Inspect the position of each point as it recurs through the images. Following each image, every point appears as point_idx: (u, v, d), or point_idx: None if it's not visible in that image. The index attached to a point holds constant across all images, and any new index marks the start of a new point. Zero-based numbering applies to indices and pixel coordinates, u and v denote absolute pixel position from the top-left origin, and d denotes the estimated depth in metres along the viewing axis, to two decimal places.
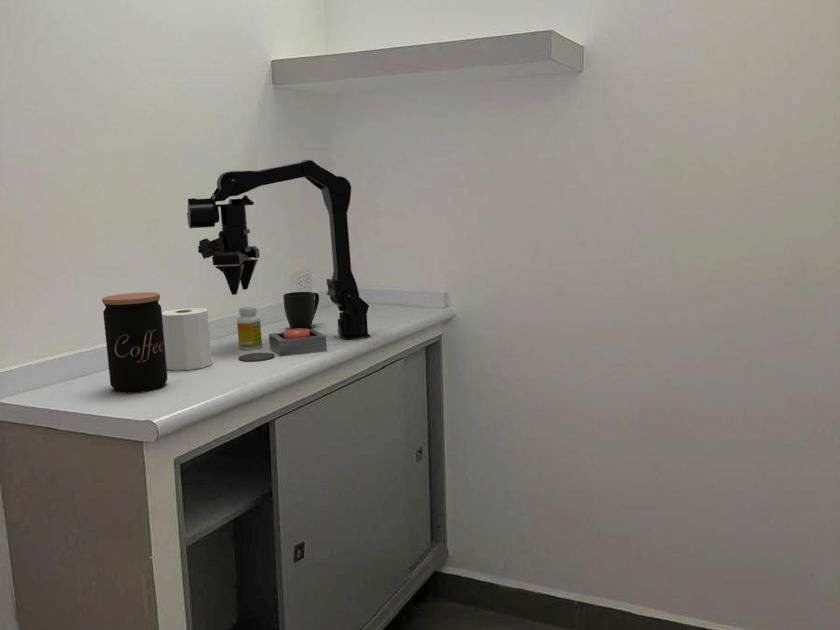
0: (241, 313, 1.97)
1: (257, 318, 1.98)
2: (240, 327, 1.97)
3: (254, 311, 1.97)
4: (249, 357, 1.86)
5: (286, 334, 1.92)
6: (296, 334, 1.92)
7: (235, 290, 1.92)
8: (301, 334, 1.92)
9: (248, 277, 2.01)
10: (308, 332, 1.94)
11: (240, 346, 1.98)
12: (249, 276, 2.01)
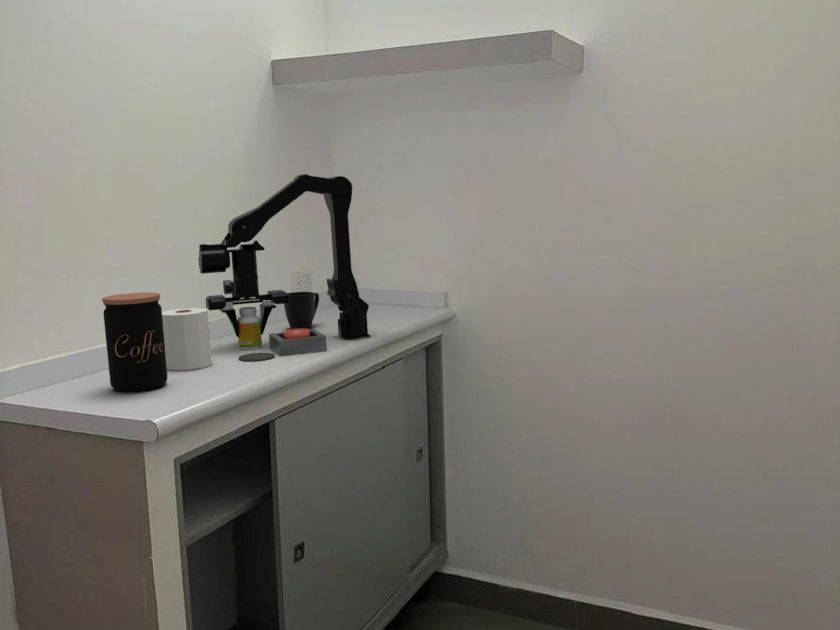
0: (241, 313, 1.97)
1: (257, 318, 1.98)
2: (240, 327, 1.97)
3: (254, 311, 1.97)
4: (249, 357, 1.86)
5: (286, 334, 1.92)
6: (296, 334, 1.92)
7: (235, 333, 1.97)
8: (301, 334, 1.92)
9: (261, 323, 1.99)
10: (308, 332, 1.94)
11: (240, 346, 1.98)
12: (261, 322, 1.98)
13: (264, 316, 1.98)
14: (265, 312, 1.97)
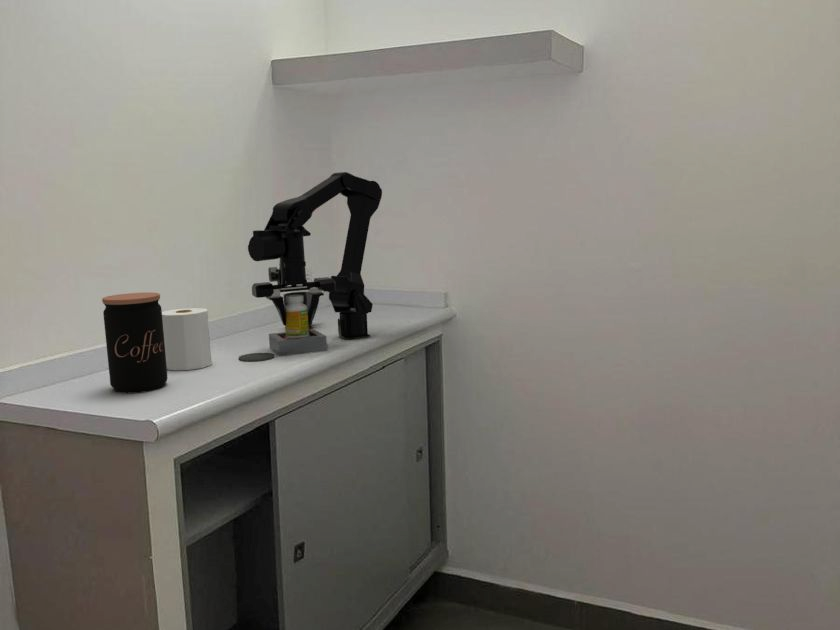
0: (288, 301, 1.92)
1: (304, 306, 1.93)
2: (288, 315, 1.92)
3: (301, 299, 1.93)
4: (249, 357, 1.86)
5: None
6: None
7: (282, 321, 1.93)
8: None
9: (308, 311, 1.94)
10: None
11: (287, 335, 1.93)
12: (309, 310, 1.94)
13: (312, 304, 1.93)
14: (313, 300, 1.92)
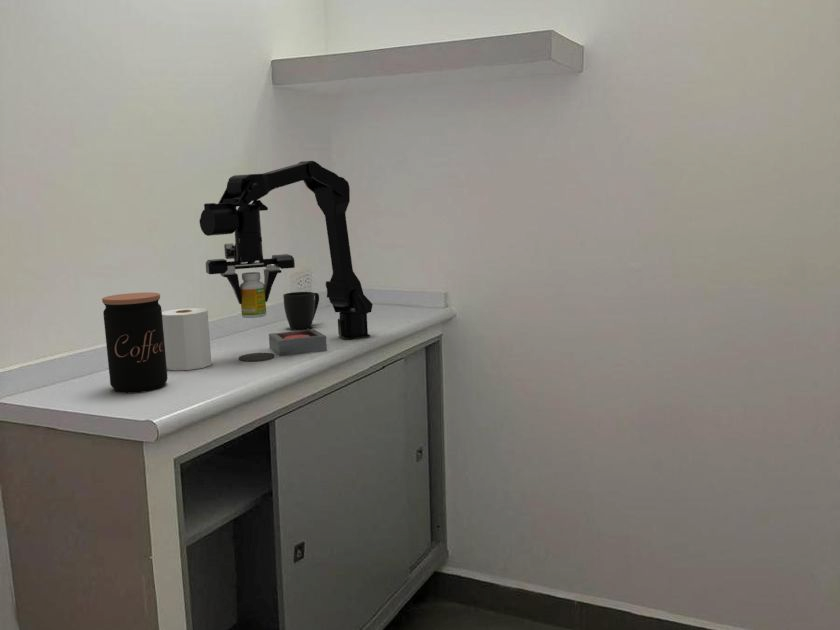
0: (244, 278, 1.83)
1: (261, 284, 1.84)
2: (243, 293, 1.83)
3: (258, 276, 1.84)
4: (249, 357, 1.86)
5: None
6: None
7: (238, 299, 1.84)
8: None
9: (265, 289, 1.85)
10: None
11: (243, 314, 1.84)
12: (266, 288, 1.85)
13: (269, 281, 1.84)
14: (270, 277, 1.83)
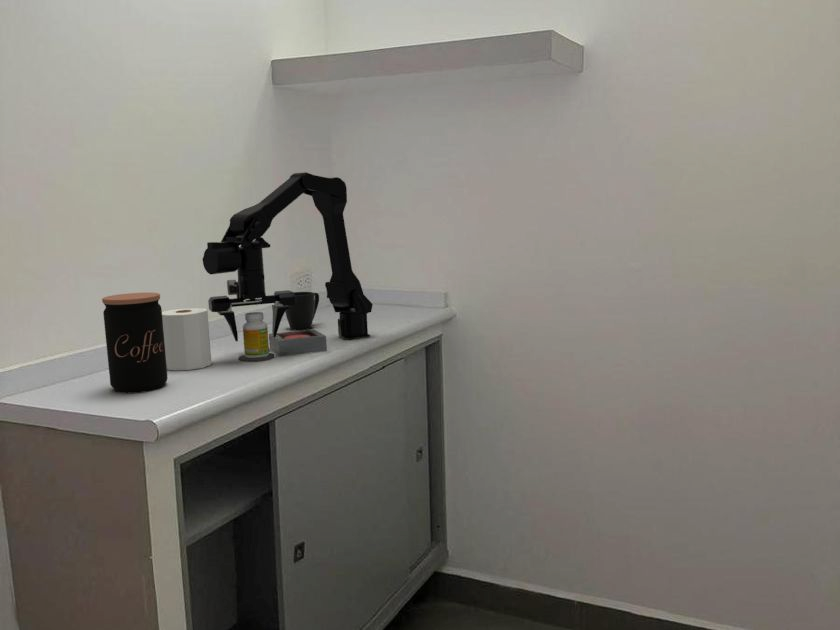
0: (247, 319, 1.84)
1: (264, 324, 1.85)
2: (246, 334, 1.84)
3: (261, 317, 1.85)
4: None
5: None
6: None
7: (234, 337, 1.84)
8: None
9: (274, 325, 1.87)
10: None
11: (246, 354, 1.85)
12: (274, 324, 1.86)
13: (277, 318, 1.86)
14: (278, 313, 1.85)
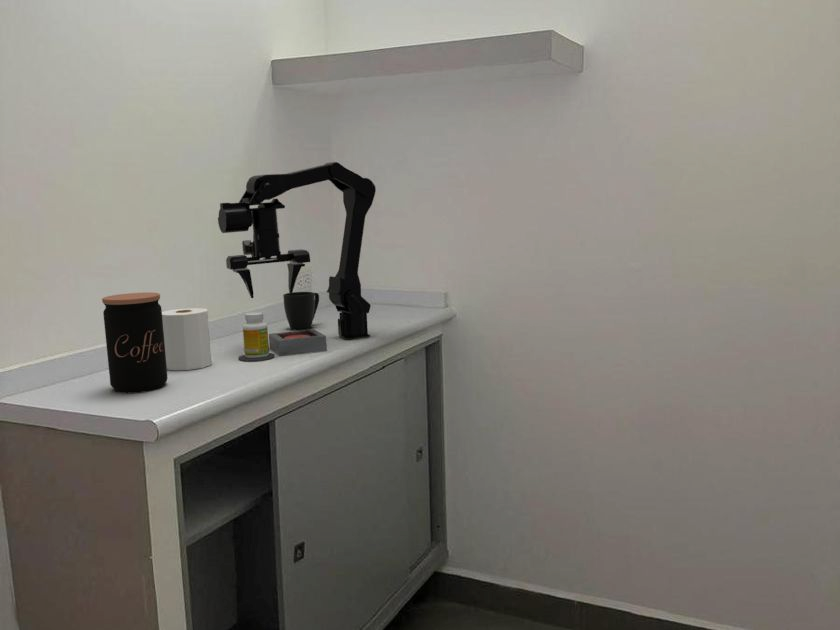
0: (247, 319, 1.84)
1: (264, 324, 1.85)
2: (246, 334, 1.84)
3: (261, 317, 1.85)
4: None
5: None
6: None
7: (250, 294, 1.94)
8: None
9: (290, 282, 1.97)
10: None
11: (246, 354, 1.85)
12: (291, 281, 1.96)
13: (293, 275, 1.96)
14: (294, 270, 1.95)
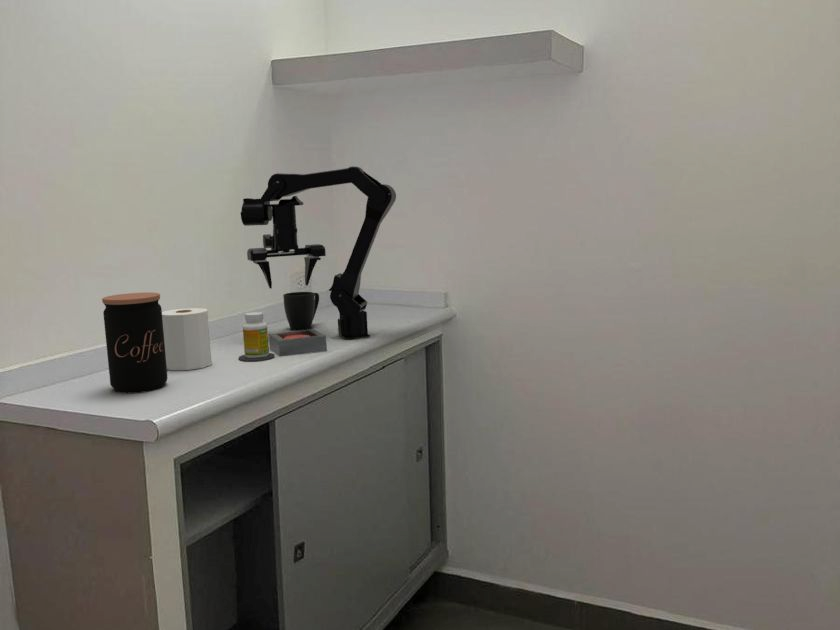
0: (247, 319, 1.84)
1: (264, 324, 1.85)
2: (246, 334, 1.84)
3: (261, 317, 1.85)
4: None
5: None
6: None
7: (268, 284, 2.07)
8: None
9: (306, 274, 2.10)
10: None
11: (246, 354, 1.85)
12: (307, 273, 2.09)
13: (309, 267, 2.08)
14: (310, 263, 2.08)
